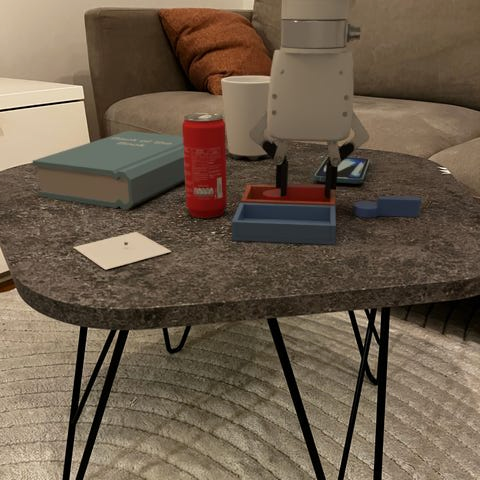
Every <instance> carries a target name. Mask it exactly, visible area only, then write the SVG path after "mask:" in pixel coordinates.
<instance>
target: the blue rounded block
mask: <svg viewBox="0 0 480 480" xmlns="http://www.w3.org/2000/svg"><path fill="white" fill-rule="evenodd" d="M421 199H422V198H421V197H420V196H398V195H397V196H394V195H377V201H372V200H359V201H355V202H354V203H353V208H352V214H353V215H354V216H356V217H359V218H363V219H364V218H365V219H366V218H367V219H371V218H377V217H407V218H419V217H420V211H421V205H422V204H421V203H422V200H421Z"/></svg>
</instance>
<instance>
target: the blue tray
mask: <svg viewBox="0 0 480 480" xmlns="http://www.w3.org/2000/svg"><path fill="white" fill-rule="evenodd" d="M336 231H337V214H336V205H335V206H325V205H295V204H266V203H241V202H239V204H238V206H237V209H236V211H235V213H234V216H233V218H232V220H231V241H233V242H254V243H255V242H257V243H259V242H261V243H280V244H283V243H284V244H304V245H305V244H309V245H331V246H332V245H334V246H335V245H336V233H337V232H336Z"/></svg>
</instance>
